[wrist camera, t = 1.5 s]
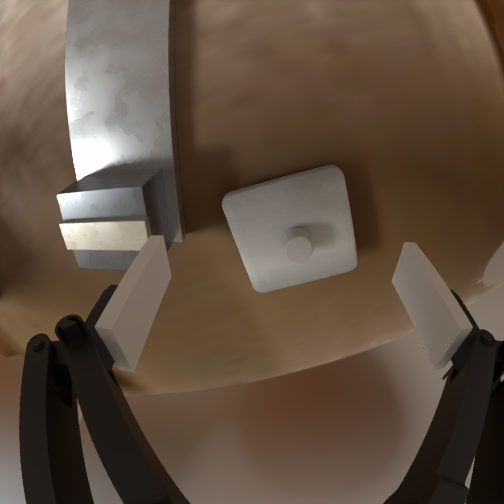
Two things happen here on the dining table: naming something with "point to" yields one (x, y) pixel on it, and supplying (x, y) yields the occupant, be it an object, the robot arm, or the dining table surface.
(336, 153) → the dining table surface
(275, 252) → the grey cover with knob
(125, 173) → the rail
